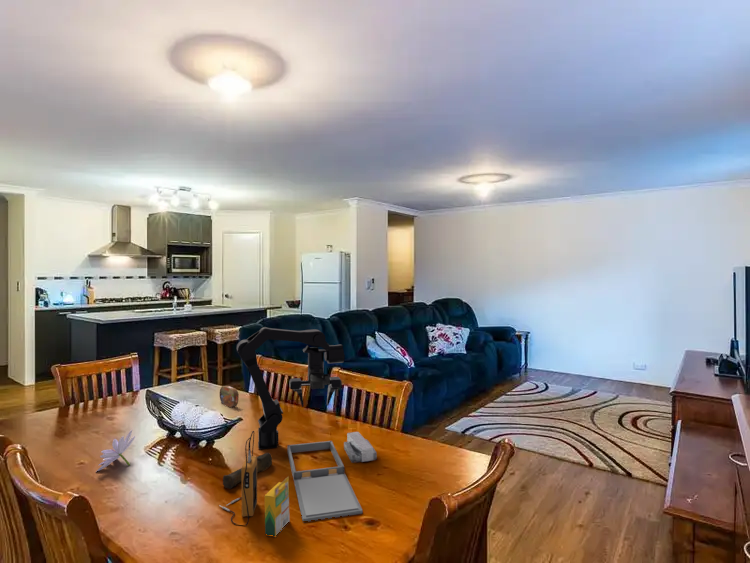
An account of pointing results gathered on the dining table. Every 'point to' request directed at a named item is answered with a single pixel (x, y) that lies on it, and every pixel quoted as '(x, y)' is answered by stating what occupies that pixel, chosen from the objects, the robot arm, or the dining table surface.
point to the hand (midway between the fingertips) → (315, 406)
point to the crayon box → (277, 508)
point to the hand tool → (236, 476)
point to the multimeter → (248, 484)
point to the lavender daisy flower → (116, 451)
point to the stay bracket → (353, 456)
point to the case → (323, 487)
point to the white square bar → (360, 446)
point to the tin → (229, 396)
